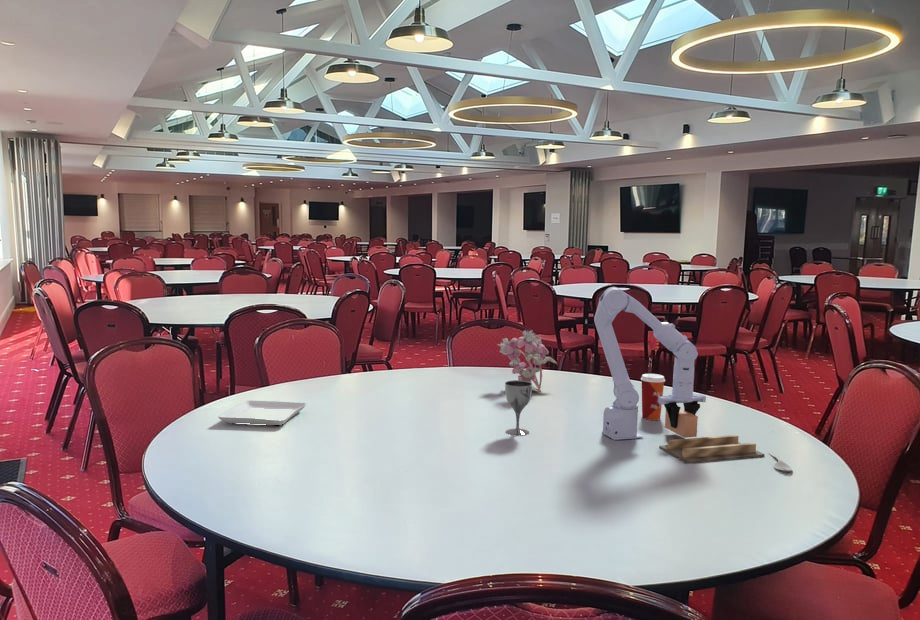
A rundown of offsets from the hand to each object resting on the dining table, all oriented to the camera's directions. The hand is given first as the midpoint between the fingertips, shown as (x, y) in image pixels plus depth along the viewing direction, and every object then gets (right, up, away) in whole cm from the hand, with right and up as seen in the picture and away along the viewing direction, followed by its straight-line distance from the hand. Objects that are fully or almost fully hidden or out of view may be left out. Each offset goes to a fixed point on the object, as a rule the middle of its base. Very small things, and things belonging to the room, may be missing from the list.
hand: (680, 426), depth 191 cm
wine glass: (-48, -3, +4) cm, 48 cm away
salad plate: (-127, -1, +17) cm, 128 cm away
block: (0, -2, 0) cm, 2 cm away
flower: (-39, +4, +62) cm, 73 cm away
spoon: (+20, -6, -18) cm, 27 cm away
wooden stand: (+4, -5, -12) cm, 13 cm away
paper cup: (-2, -1, +21) cm, 22 cm away
